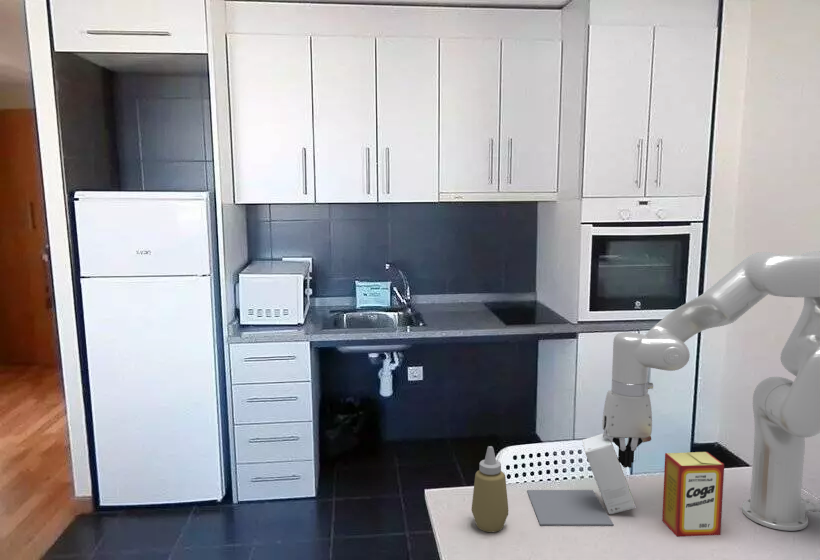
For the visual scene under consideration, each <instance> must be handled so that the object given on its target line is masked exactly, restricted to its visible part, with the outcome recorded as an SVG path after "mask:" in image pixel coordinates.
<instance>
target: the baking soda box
mask: <svg viewBox="0 0 820 560" xmlns="http://www.w3.org/2000/svg"><path fill="white" fill-rule="evenodd" d="M663 474H664V476H663V492H662V493H663V495H662V496H663V497H662V516H661V517H662V518H661V522H663V523H664V524H665V525H666V527H668V529H669V530H670V531H671V532H672V533H673V534H674V535H675V537H679V538H680V537H700V536H702V537H705V536H721V530H722V529H721V528H722V514H723V511H722V510H723V497H724V496H723V495H724V494H723V493H724V477H725V463H724V462H721V461H720V460H719V459H717V458H716V457H715V456H714V455H712V454H711V453H709V452H708V451H695V452H693V451H692V452H665V454H664V472H663Z"/></svg>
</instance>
